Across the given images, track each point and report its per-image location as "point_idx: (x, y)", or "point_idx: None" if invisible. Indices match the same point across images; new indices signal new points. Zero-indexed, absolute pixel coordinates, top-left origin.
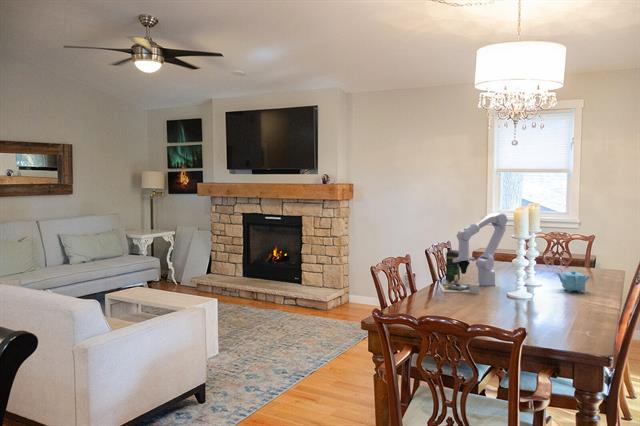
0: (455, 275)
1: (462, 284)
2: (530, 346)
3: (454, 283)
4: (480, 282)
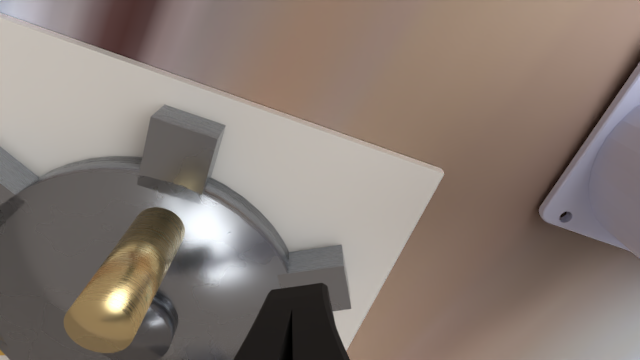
0: (82, 329)
1: (224, 307)
2: None
3: (134, 218)
4: (606, 205)
